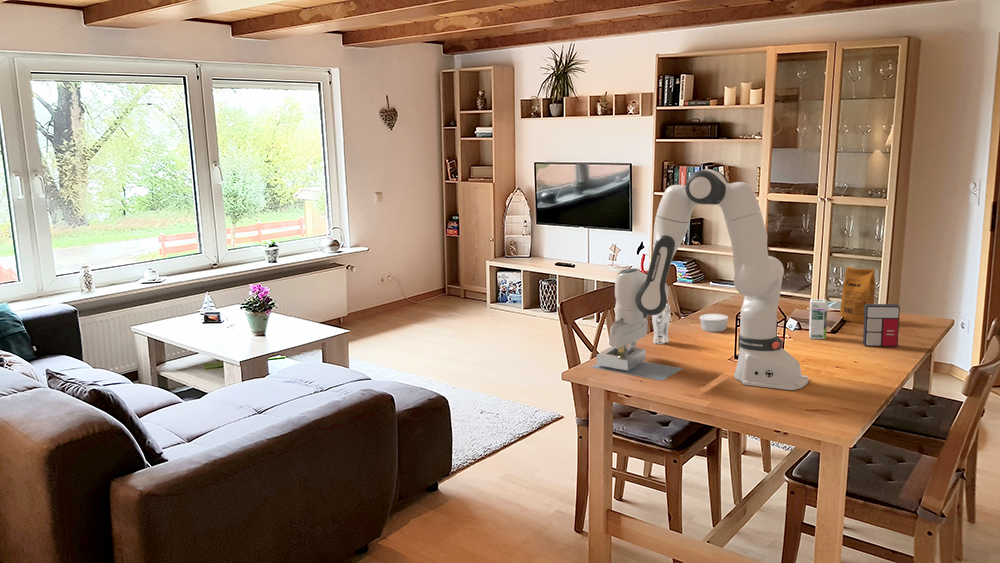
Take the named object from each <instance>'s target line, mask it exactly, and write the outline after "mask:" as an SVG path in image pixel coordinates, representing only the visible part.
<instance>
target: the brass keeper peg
mask: <svg viewBox="0 0 1000 563" xmlns="http://www.w3.org/2000/svg"><path fill="white" fill-rule="evenodd" d="M618 356H620V357H624V346H623V347H621V348H619V349H618Z"/></svg>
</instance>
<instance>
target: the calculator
mask: <svg viewBox="0 0 1000 563" xmlns="http://www.w3.org/2000/svg"><path fill="white" fill-rule="evenodd" d="M900 311H901V307H900V306H899V305H898V304H896V303H895V304H892V303H874V304H865V306H864V323H863V331H862V332H863V335H862V336H863V337H862V344H863V345H864V347H879V348H880V347H882V348H883V347H885V348H886V347H887V348H889V347H890V348H897V347H898V345H899V330H900Z"/></svg>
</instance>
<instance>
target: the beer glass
mask: <svg viewBox="0 0 1000 563" xmlns="http://www.w3.org/2000/svg"><path fill="white" fill-rule="evenodd" d="M670 320H671V306H670V303H669V302H667V303H666V307H665V309H664V310H663V311H662V312H661V313H659V314H657V315H651V324H652V327H653V336H652V337H653V338H652V342H653V343H654V344H656V343H657V344H656V345H666V344H665V343H667V344H669V343H670V339H669V326H670ZM668 342H669V343H668Z"/></svg>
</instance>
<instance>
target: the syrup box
mask: <svg viewBox="0 0 1000 563" xmlns="http://www.w3.org/2000/svg"><path fill="white" fill-rule="evenodd" d="M827 321H828V300H827V299H817V298H816V299H814V298H813V299H812V298H811V299H810V300H809V324H808V325H809V328H808V329H809V330H808V332H809V333H808V335H809V339H810V340H826V339H827V324H828V322H827Z"/></svg>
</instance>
